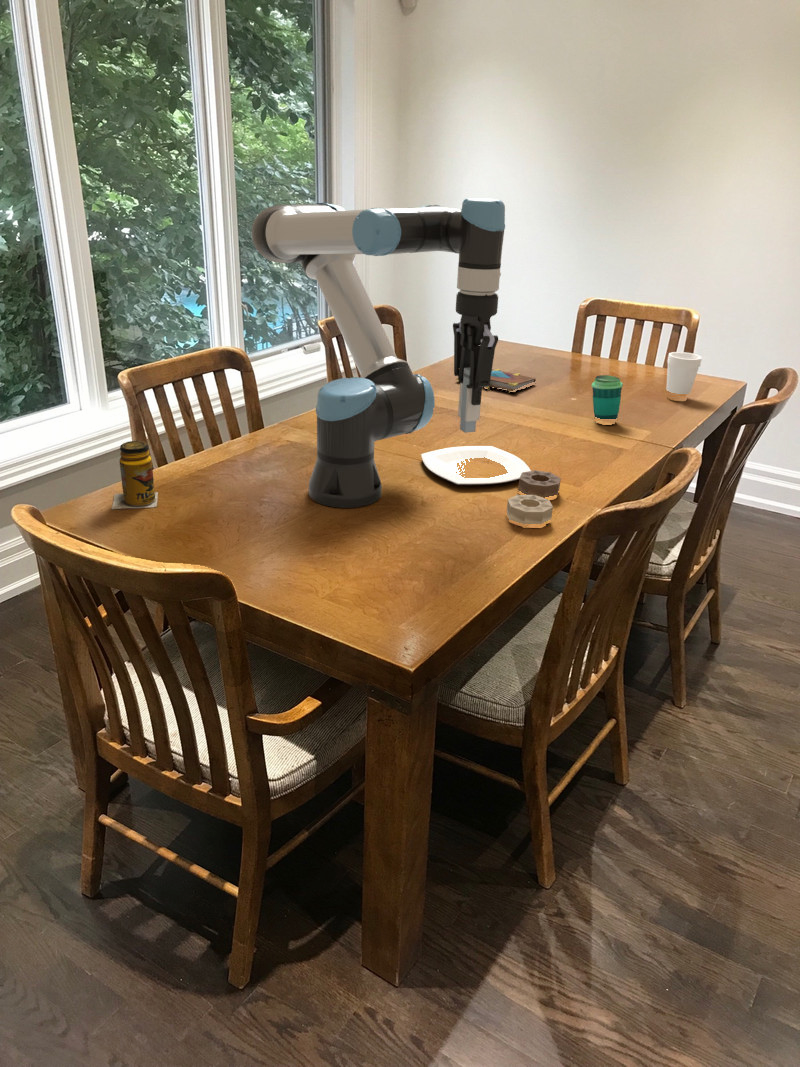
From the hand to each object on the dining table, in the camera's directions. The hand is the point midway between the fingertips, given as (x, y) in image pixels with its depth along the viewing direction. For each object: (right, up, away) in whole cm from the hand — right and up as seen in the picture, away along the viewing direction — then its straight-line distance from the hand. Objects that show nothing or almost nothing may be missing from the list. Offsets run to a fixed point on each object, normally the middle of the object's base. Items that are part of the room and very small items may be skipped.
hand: (468, 417), depth 157 cm
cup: (+42, +8, +66) cm, 78 cm away
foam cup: (+70, +18, +89) cm, 115 cm away
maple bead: (+12, -19, +6) cm, 24 cm away
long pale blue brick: (0, -2, +1) cm, 2 cm away
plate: (+4, -8, +30) cm, 31 cm away
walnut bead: (+16, -14, +18) cm, 28 cm away
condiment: (-66, -16, +7) cm, 68 cm away
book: (+14, +24, +97) cm, 101 cm away
